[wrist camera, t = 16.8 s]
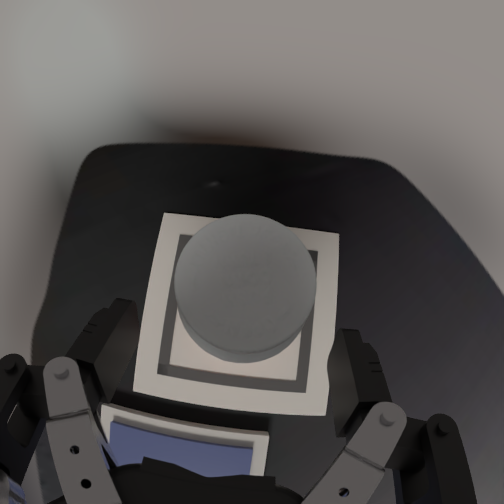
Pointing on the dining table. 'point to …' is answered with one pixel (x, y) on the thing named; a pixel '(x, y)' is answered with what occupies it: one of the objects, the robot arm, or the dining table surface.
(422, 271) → the dining table surface
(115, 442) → the ink pad
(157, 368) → the white flat square slab
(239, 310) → the pill bottle
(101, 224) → the dining table surface
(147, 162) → the dining table surface
